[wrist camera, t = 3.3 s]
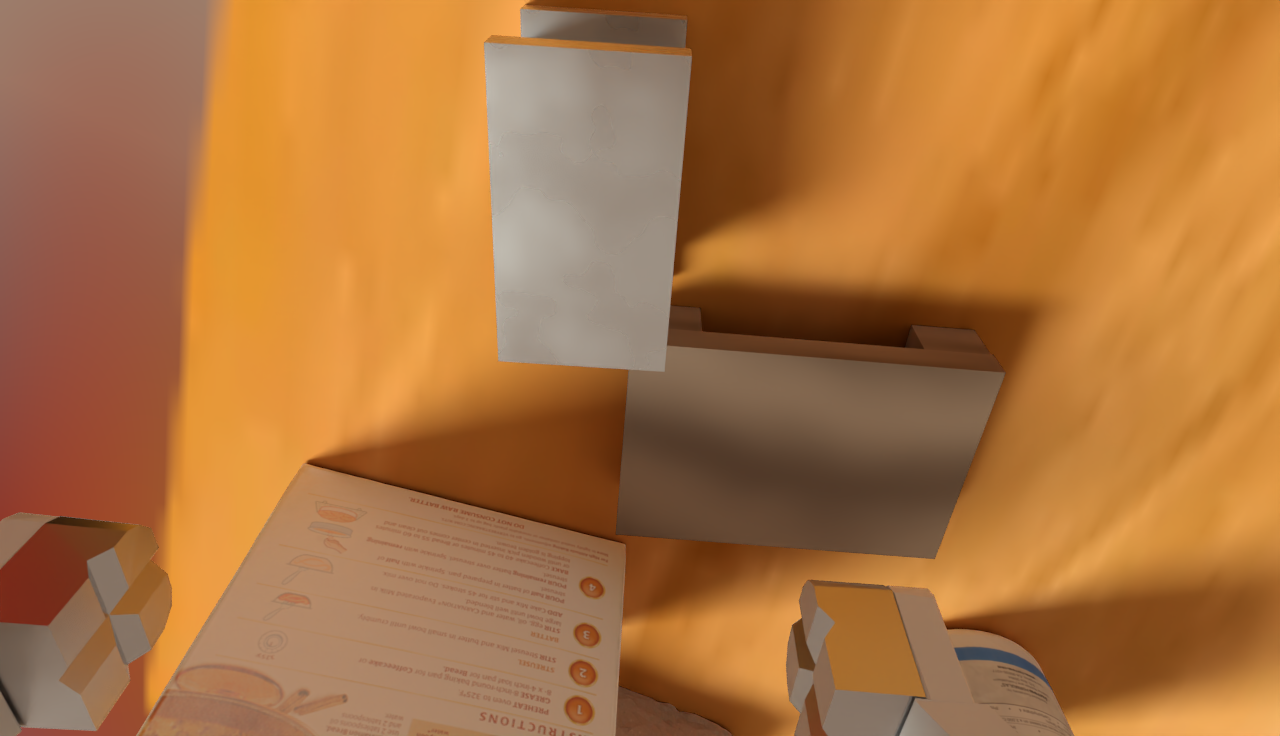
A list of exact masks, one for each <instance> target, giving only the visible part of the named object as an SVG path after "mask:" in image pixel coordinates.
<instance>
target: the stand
mask: <svg viewBox="0 0 1280 736" xmlns="http://www.w3.org/2000/svg"><path fill="white" fill-rule="evenodd" d="M1005 373H1006V372H1005V371H1004V369H1003V368H1002V366H1001V365H1000V364H999V362H998V361H997V359H996V358H995V356H994V355H991V354H990V353H989V351H988V350H987V348H986V347H985V345H984V344H983V342H982V341H981V339H980V338H979V336H978V335H977V333H976V332H975V330H968V329H956V328H943V327H931V326H919V325H911V328H910V331H909V335H908V338H907V342H906V345H905V348H902V347H890V346H878V345H865V344H853V343H840V342H828V341H815V340H803V339H791V338H778V337H766V336H753V335H741V334H728V333H716V332H704V331H702V323H701V310H700V308H696V307H684V306H671V305H670V314H669V326H668V337H667V349H666V360H665V372H660V371H644V370H629V372H628V385H627V397H626V410H625V423H624V435H623V448H622V460H621V473H620V486H619V498H618V511H617V523H616V535H629V536H642V537H655V538H668V539H681V540H694V541H707V542H720V543H733V544H746V545H759V546H772V547H786V548H799V549H812V550H825V551H838V552H851V553H864V554H877V555H890V556H903V557H916V558H929V559H935V557H936V554H937V552H938V549H939V546H940V544H941V541H942V539H943V536H944V533H945V531H946V528H947V525H948V523H949V520H950V518H951V515H952V512H953V510H954V507H955V504H956V502H957V499H958V497H959V494H960V491H961V489H962V486H963V484H964V481H965V478H966V476H967V473H968V470H969V468H970V465H971V463H972V460H973V457H974V455H975V452H976V449H977V447H978V444H979V442H980V439H981V436H982V434H983V431H984V428H985V426H986V423H987V421H988V418H989V415H990V413H991V410H992V408H993V405H994V402H995V400H996V397H997V394H998V392H999V389H1000V387H1001V384H1002V381H1003V379H1004V376H1005Z"/></svg>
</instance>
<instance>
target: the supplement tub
mask: <svg viewBox="0 0 1280 736" xmlns="http://www.w3.org/2000/svg"><path fill="white" fill-rule="evenodd" d="M947 631H948V634H949V636H950V639H951V642H952V644H953V647H954V650H955V652H956V655H957V658H958V660H959V663H960V665H961V668H962V671H963V673H964V676H965V679H966V681H967V684H968V686H969V689H970V692H971V694H972V697H973V700H974V702H975V703H979V704H987V705H988V706H990V707H991V708H992V709H993V710H994V711H995V712H996V713H997V714H998V715H999V716H1000V717H1001V718H1002V719H1003V720H1004V721H1006V722H1007V723H1008V724H1009V725H1010V726H1011V727H1012V728H1013V729H1014V730H1015V731H1016V732H1017V733H1018V734H1019V735H1020V736H1074V734H1073V732H1072V730H1071V728H1070V726H1069V724H1068V722H1067V720H1066V718H1065V716H1064V714H1063V712H1062V709H1061V707H1060V705H1059V703H1058V701H1057V699H1056V697H1055V695H1054V693H1053V691H1052V689H1051V687H1050V685H1049V683H1048V681H1047V679H1046V677H1045V675H1044V673H1043V671H1042V669H1041V667H1040V665H1039V664H1038V662H1037V661H1036V660H1035V658H1034V657H1033V656H1032V655H1031V654H1030V653H1029V652H1028V651H1026V650H1025V649H1024V648H1022V647H1021V646H1020V645H1018V644H1017V643H1015V642H1013V641H1011V640H1009V639H1007V638H1004V637H1002V636H999V635H996V634H993V633H988V632H984V631H978V630H969V629H950V630H947Z"/></svg>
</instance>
